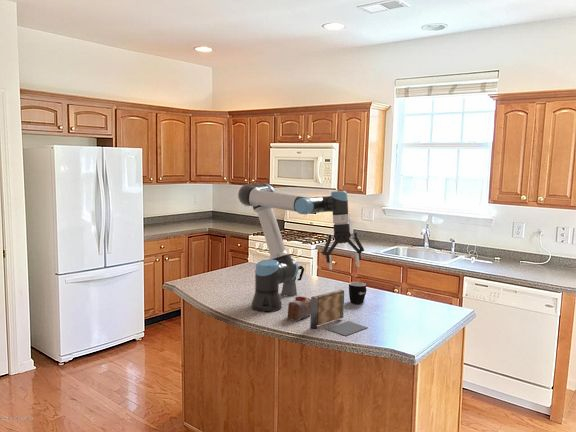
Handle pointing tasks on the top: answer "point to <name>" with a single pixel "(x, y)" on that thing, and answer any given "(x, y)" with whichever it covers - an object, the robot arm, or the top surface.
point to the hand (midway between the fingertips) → (344, 268)
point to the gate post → (314, 312)
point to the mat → (346, 328)
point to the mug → (357, 292)
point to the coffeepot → (291, 285)
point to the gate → (330, 306)
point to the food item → (299, 308)
